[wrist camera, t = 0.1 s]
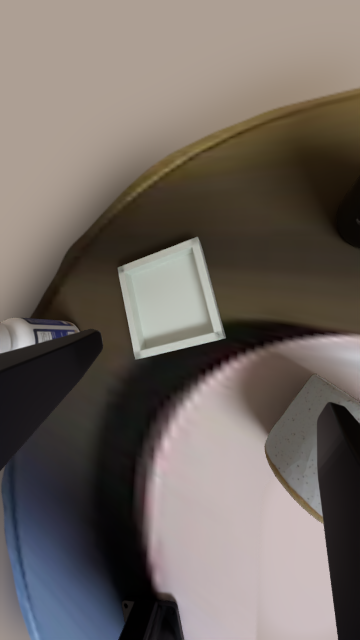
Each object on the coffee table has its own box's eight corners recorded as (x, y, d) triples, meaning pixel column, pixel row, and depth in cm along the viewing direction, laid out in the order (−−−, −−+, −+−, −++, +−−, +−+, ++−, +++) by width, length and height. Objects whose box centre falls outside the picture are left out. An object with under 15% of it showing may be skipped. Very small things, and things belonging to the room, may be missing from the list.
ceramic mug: (254, 433, 21) (262, 486, 14) (303, 366, 20) (338, 384, 13) (364, 516, 18) (449, 642, 11) (426, 442, 17) (563, 523, 10)
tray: (225, 338, 22) (224, 338, 20) (143, 357, 25) (135, 359, 23) (201, 244, 24) (197, 236, 22) (126, 272, 27) (117, 267, 25)
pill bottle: (44, 342, 30) (-49, 344, 20) (67, 312, 29) (-19, 301, 20) (65, 371, 28) (-24, 389, 19) (91, 342, 28) (10, 345, 18)
